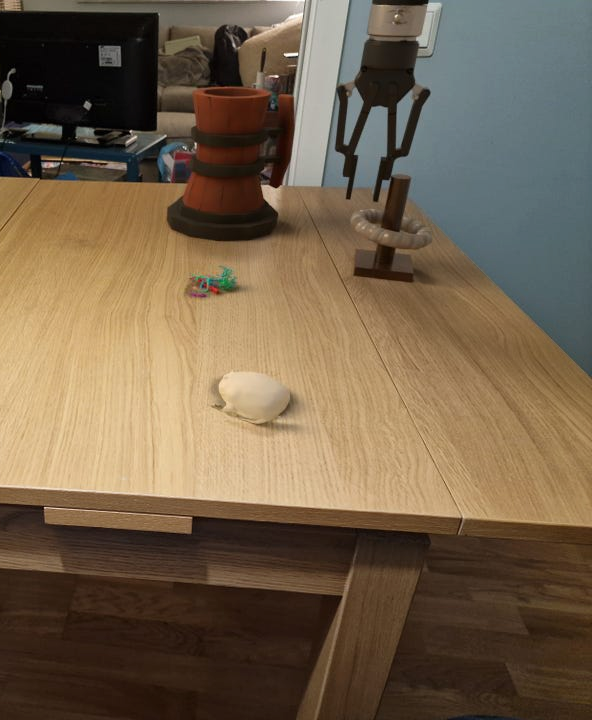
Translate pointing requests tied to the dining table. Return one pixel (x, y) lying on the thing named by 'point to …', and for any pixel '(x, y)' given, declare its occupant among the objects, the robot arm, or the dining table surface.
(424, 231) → the bracelet
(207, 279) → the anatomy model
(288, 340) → the dining table surface
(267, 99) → the tankard
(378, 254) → the stand
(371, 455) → the dining table surface
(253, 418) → the garlic
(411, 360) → the dining table surface
